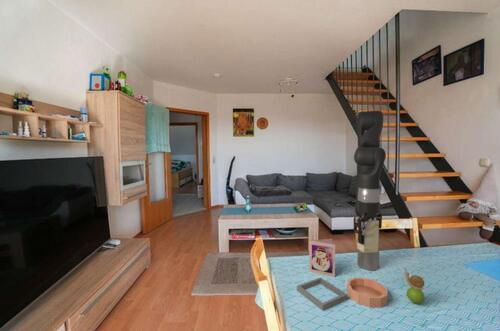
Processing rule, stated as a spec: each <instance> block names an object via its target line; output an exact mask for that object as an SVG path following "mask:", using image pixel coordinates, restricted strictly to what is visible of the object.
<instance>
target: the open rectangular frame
mask: <svg viewBox="0 0 500 331" xmlns="http://www.w3.org/2000/svg"><path fill="white" fill-rule="evenodd" d="M318 285H322V286H324V287H325V288H326V289H328V290H329V291H331V292H332V293H334V294H335V295H337V296H336V297H333V298H331V299H328V300H326V301H324V302H322V301H321V300H319V299H318V298H317V297H316V296H314V295H313V294H312V293H310V292H309V291H307V289H310V288H312V287H316V286H318ZM296 292H298V293H299V294H301V295H302V296H303V297H304V298H306V299H307V300H308V301H310V302H311V303H312V304H314V305H315V306H316V307H317V308H318V309H320V311H322V312H323V311H325V310H327V309H329V308H332V307H334V306H336V305H339V304H341V303H344V302H346V301H348V297H349V295H348V294H347V292H345V291H343V290H341V289H340V288H338V287H337V286H335V285H334V284H332V283H330V282H328V281H327V280H325V278H322V277H318V278H315V279H313V280H309V281H307V282H304V283H301V284H298V285H296Z"/></svg>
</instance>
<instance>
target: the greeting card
mask: <svg viewBox="0 0 500 331" xmlns="http://www.w3.org/2000/svg"><path fill="white" fill-rule="evenodd" d="M308 246H309V249H308V250H309V253H308V254H309V256H308V257H309V260H308V261H309V262H308V263H309V265H308V266H309V267H308V270H309V271H308V272H310V273H314V274H319V275H323V276H327V277H333V278H335V277H336V244H334V243H333V238H326V239H325V238H324V239H314V240H313V239H311V240H309V245H308Z"/></svg>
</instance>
